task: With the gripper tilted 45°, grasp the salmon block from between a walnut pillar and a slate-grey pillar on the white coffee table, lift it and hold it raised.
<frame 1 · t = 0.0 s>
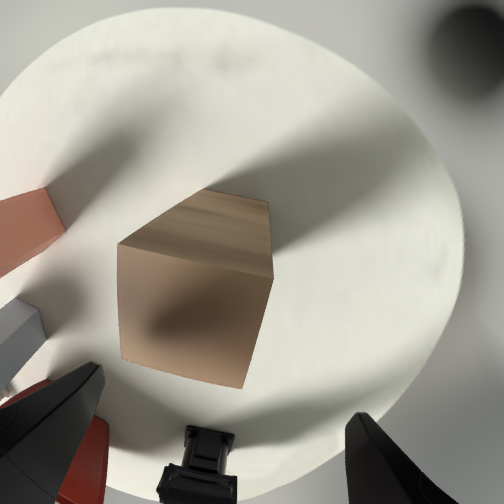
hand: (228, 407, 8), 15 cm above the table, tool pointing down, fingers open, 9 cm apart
slate pillar: (30, 319, 26), on the table
plant pot: (71, 412, 33), on the table
salmon block: (42, 221, 22), on the table
walnut pillar: (228, 227, 21), on the table
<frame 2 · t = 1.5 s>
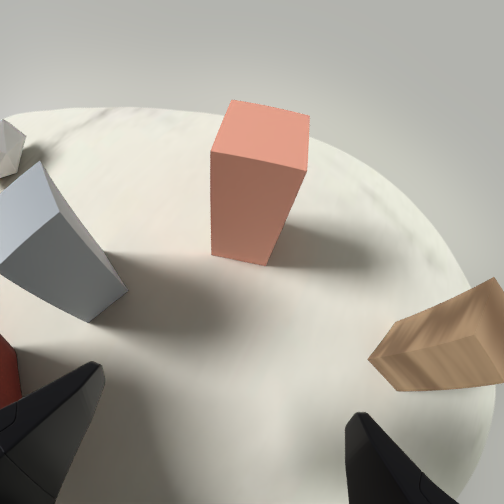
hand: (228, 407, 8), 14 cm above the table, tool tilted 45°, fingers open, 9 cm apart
slate pillar: (94, 285, 22), on the table
die: (9, 168, 27), on the table
salmon block: (243, 236, 26), on the table
walnut pillar: (397, 356, 23), on the table
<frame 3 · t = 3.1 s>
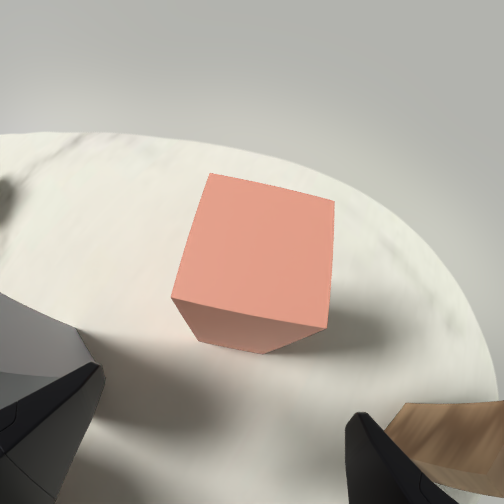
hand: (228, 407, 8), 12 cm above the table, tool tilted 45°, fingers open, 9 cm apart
slate pillar: (69, 368, 17), on the table
salmon block: (236, 316, 21), on the table
walnut pillar: (403, 437, 18), on the table
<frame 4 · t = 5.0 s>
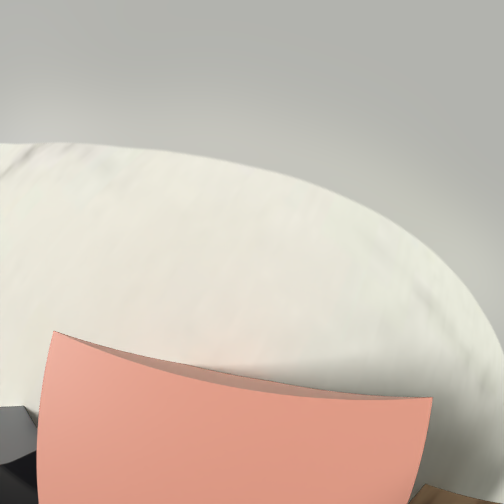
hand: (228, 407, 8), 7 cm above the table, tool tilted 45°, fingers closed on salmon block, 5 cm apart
slate pillar: (25, 449, 10), on the table
salmon block: (219, 414, 13), on the table, touching gripper
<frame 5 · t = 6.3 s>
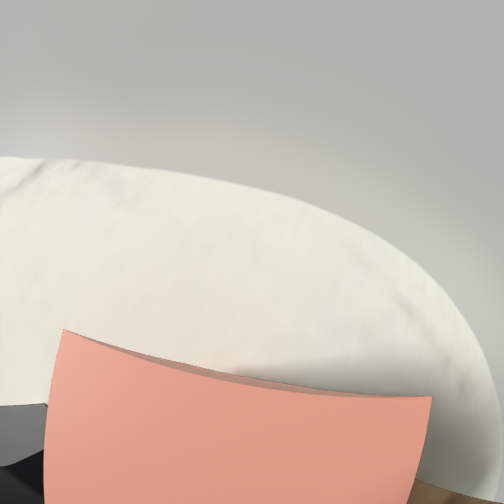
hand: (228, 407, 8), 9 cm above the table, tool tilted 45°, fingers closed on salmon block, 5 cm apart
slate pillar: (45, 442, 12), on the table
salmon block: (221, 414, 14), point 3 cm above the table, touching gripper
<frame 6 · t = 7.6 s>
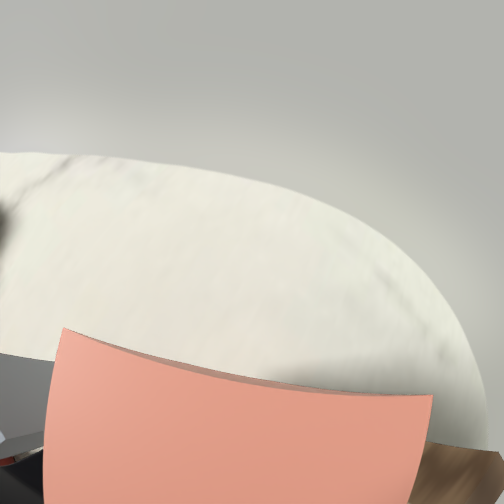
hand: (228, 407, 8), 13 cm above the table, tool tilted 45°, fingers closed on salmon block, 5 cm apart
slate pillar: (70, 401, 17), on the table
salmon block: (221, 414, 13), point 6 cm above the table, touching gripper
walnut pillar: (387, 464, 18), on the table
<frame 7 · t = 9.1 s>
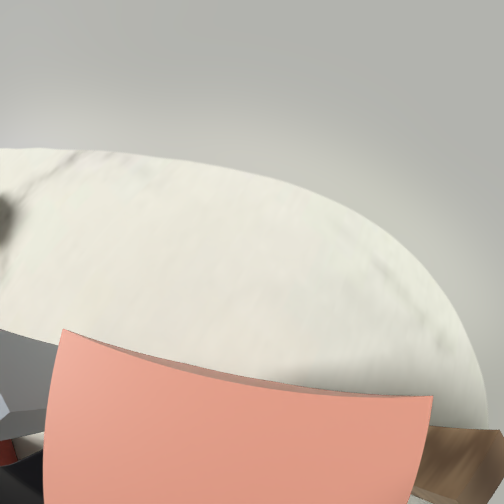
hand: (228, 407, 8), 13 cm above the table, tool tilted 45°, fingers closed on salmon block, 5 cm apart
slate pillar: (74, 387, 18), on the table
salmon block: (221, 414, 13), point 7 cm above the table, touching gripper
walnut pillar: (389, 452, 18), on the table
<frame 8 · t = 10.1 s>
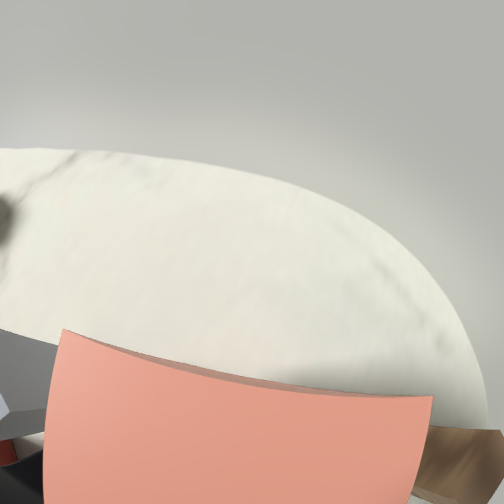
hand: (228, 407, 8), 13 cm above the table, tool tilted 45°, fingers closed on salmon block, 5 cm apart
slate pillar: (74, 387, 18), on the table
salmon block: (221, 414, 13), point 7 cm above the table, touching gripper
walnut pillar: (389, 452, 18), on the table
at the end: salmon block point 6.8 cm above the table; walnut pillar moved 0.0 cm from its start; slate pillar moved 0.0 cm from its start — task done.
